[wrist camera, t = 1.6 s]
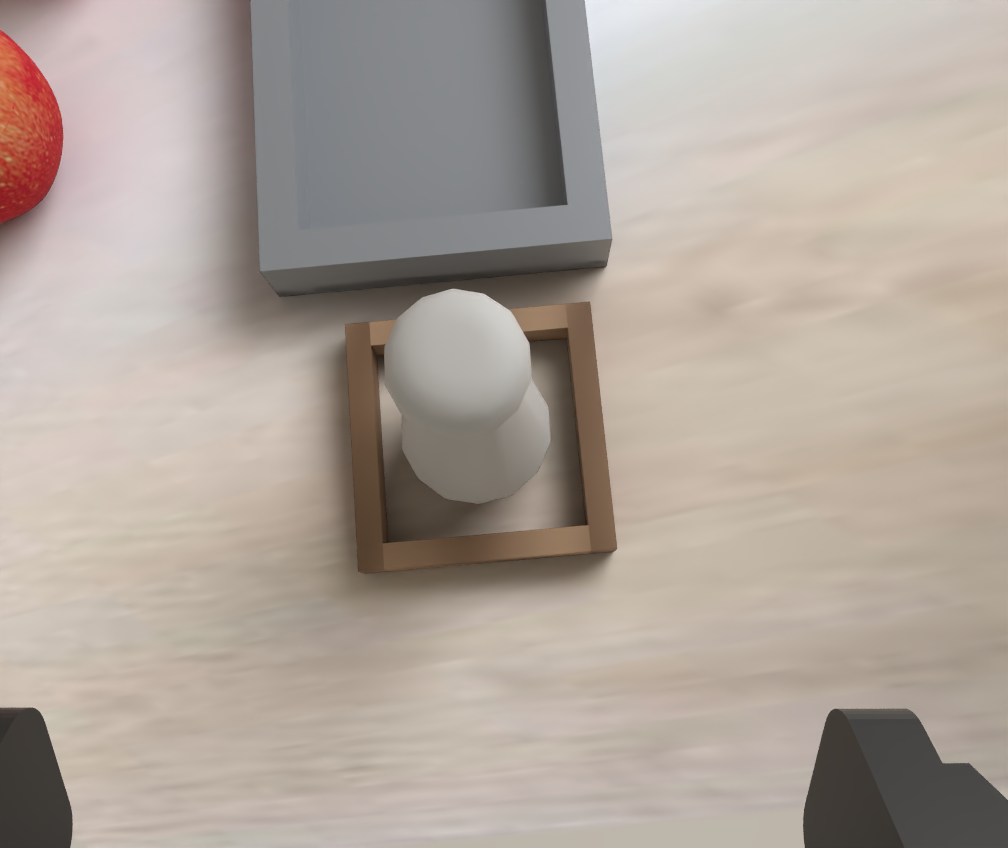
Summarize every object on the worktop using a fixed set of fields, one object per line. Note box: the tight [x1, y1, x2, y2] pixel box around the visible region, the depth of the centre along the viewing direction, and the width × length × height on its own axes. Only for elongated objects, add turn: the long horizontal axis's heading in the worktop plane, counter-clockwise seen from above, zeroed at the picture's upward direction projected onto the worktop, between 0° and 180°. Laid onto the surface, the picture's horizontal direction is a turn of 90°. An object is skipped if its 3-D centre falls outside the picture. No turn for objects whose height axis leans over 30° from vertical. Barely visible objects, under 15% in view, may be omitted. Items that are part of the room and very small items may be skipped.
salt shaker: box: [384, 289, 551, 504], centre depth 33 cm, size 6×6×13 cm
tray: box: [250, 0, 612, 297], centre depth 41 cm, size 14×18×3 cm
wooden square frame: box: [345, 302, 617, 574], centre depth 38 cm, size 10×10×2 cm
